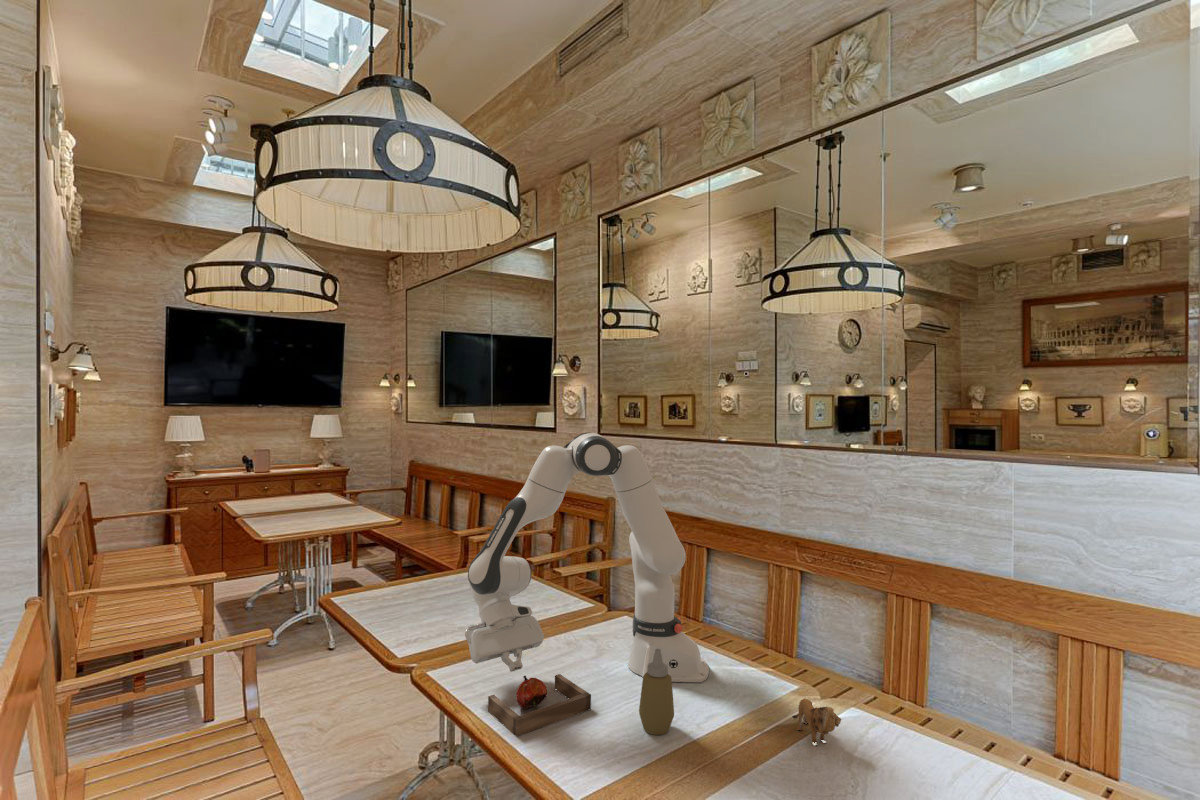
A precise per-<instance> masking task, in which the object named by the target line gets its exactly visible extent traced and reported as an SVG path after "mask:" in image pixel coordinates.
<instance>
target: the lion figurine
mask: <svg viewBox="0 0 1200 800" xmlns="http://www.w3.org/2000/svg"><path fill="white" fill-rule="evenodd" d="M797 710H798V713H797V714H795V715H792V716H791V717H792V718H793V719H798V720H797V728H796V729H798V730H802V731H803V727H802V722H803V724H804V723H805V725H809V726H810V730H811V743H812V742H814V743H815V742H817V743H818V740H817V734H820V735H819V741H820V740H825V735H828V734H829V733H832V732H833V731H834V730H835V728H836V727H837V728H838V727H839V726H840V724H841V723H842V718H841V717H839V716H838V715H837V713H835V712H834V710H835V709H834V708H832V707H831V706H820V707H817V706H816V707H814V705H813V702H812V701H811V700H809V699H807V698H803V699H801V700H800V701H799V704H798V709H797ZM807 723H808V724H807ZM798 730H797V731H798Z"/></svg>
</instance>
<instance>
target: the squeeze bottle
mask: <svg viewBox="0 0 1200 800" xmlns="http://www.w3.org/2000/svg"><path fill="white" fill-rule="evenodd" d="M641 683H642V684H641V692H640V700H639V707H638V713H639V714H638V715H639V718H640V720H641V725H642V728H643V730H644V731H645V732H646V733H648V734H650V735H653V736H654V735H655V736H660V735H665V734H667V733H668V732H669V731H670V728H671V726H672V722H673V719H674V716H675V707H674V692H673V682H672V679H671V676H670V675H669V674H668V666H667V665H666V664H665V663H663V661H662V655H661V650H660V649H656V650H655V654H654V658H653V662H651V663H649V664H648V665H647V672H646V673H645V674H644V676H643V677H642V682H641Z"/></svg>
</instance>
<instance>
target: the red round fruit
mask: <svg viewBox="0 0 1200 800" xmlns="http://www.w3.org/2000/svg"><path fill="white" fill-rule="evenodd" d="M523 679H524V680H523V681H522V682H520V684H519V686H518V688H517V690H516V693H515V694H516V695H515V697H516V702H517V705H518V706H520V707H521V709H524V710H526V709H529V708H532V707H534V709H535V710H538V708H537V706H538V705H541V704H542V703H543V701H544V700H545V699H546V698H547V697H548V688H547V685H546V684H545V683H544V681H542V680H541V679H539V678H537V677H529V678H527V675H524V676H523Z"/></svg>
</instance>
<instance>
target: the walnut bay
mask: <svg viewBox="0 0 1200 800" xmlns="http://www.w3.org/2000/svg"><path fill="white" fill-rule="evenodd" d="M555 689H557V690H556V691H557V692H558V691H559V692H560V693H559V692H558V693H559V694H561V695H562V694H563V696H564V697H565V696H566V697H565V698H566V699H564V700H561V701H558V702H556V703H552V704H549V705H546V706H544V707H540V708H539V709H538V708H537V710H536V709H535V710H531V711H530V712H527V713H524V714H521V715H519V714H518V713H516V712H515V710H513V709H511V708H510V707H509V706H508V705H507V704H506V703H505V702H504V701H502V699H500V698H499V697H498V696H497V695H495V694H492V695H488V696H487V699H488V701H487V711H488V713H490V714H491V715H492V714H493V715H494V716H495V717H496V718H497V719H498V720H497V721H498V722H500V724H502V725H503V724H504V725H503V726H504V727H505V726H506V727H507V728H508V729H507V728H506V727H505V728H506V729H507V730H509V732H511V733H512V734H513V735H514V736H515V735H516V736H517V737H519V736H522V734H523V735H524V734H528V733H530V732H533V731H536V730H539V729H541V728H544V727H547V726H549V725H552V724H555V723H557V722H560V721H564V720H565V719H567V718H571V717H573V715H574V716H577V715H579V714H581V712H582V713H584V712H587V711H590V710H591V709H592V694H591V693H589V692H588V691H586V690H585V689H583V687H580V686H579V685H577V684H576V683H574V682H573V681H571V680H570V679H568V678H566V677H565V676H564V675H562V674H560V673H557V674H555V675H554V690H555ZM568 698H569V699H568ZM589 709H590V710H589ZM578 713H579V714H578ZM493 715H492V716H493ZM494 716H493V717H494ZM495 717H494V718H495ZM496 718H495V719H496ZM516 736H515V737H516Z"/></svg>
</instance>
